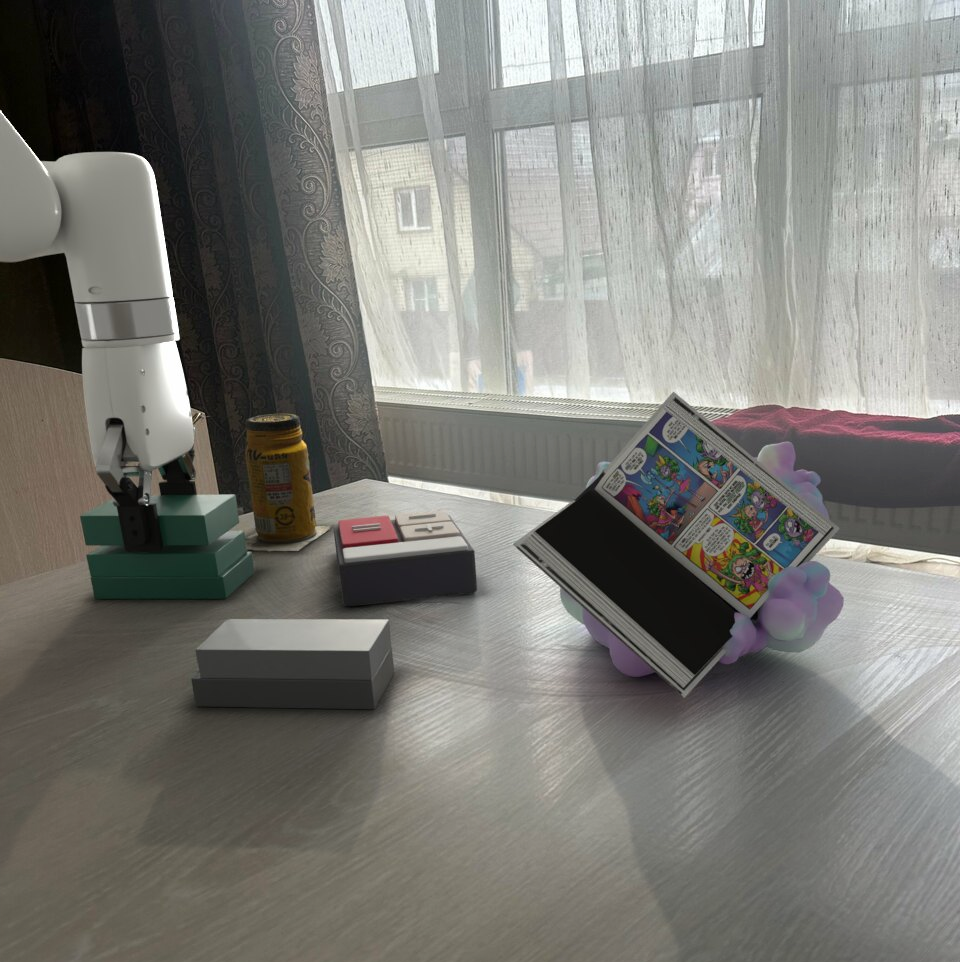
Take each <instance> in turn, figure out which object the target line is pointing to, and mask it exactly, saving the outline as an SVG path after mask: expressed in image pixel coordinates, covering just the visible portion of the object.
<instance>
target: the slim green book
mask: <svg viewBox="0 0 960 962" xmlns="http://www.w3.org/2000/svg"><path fill="white" fill-rule="evenodd" d="M150 503H156V507H157V513H158V519H159V525H160V531H161V536H162V542H163V546H208V545H210V544H211V543H213V542H214V541H215V540H217V539H218V538H219V537H221V536H222V535H223V534H225V533H226V532H227V531H231V530H232V529H233V528H234V527H236V526H237V525H238V524H240V517H239V510H238V503H237V495H236V494H232V493H231V494H197V495H161V494H151V497H150ZM79 519H80V524H81V529H82V534H83V539H84V544H85V546H87V547H89V546H98V547H100V546H124V543H123V538H122V532H121V527H120V522H119V516H118V511H117V507H116V506H114V505H113V503H112V499H110V500H108V501H106V502H104V503H102V504H100V505H98V506H97V507H94V508H93V509H90V510H88V511H86V512H85V513H83V514H81V515H79Z"/></svg>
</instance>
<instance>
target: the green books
mask: <svg viewBox="0 0 960 962" xmlns="http://www.w3.org/2000/svg"><path fill="white" fill-rule="evenodd" d="M245 533H246V532H245V530H229V531H227V532H226V533H225V534H223V535H222V536H221V537H219V538H218V539H217V540H215V541H214V542H213V543H211V544H210V545H208V546H163V549H162V550H160V551H159V552H128V551H126V550H125V548H124V546H98V547H96V548H95V549H93V550H91V551H89V552H88V553H86V554H85V555H86V562H87V565H88V570H89V575H90V582H91V587H92V592H93V596H94V599H95V600H171V599H172V600H191V599H192V600H208V599H209V600H219V599H220V600H224V599H227V598H228V597H230V596H231V595H232V594H233V593H234V592H235V591H236V590H238V588H240V587H241V586H242V585H244V583H245V582H246V581H247V580H248V579H249V578H250V577H252V576H253V575H254V574H255V573H256V571H255V563H254V558H253V552H252V551H248V550H247V547H246V540H245V537H246V534H245Z"/></svg>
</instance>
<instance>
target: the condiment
mask: <svg viewBox="0 0 960 962" xmlns="http://www.w3.org/2000/svg"><path fill="white" fill-rule="evenodd" d="M244 426H245V430H246V439H245V440H246V442H247V446H246V448H245V451H244V454H245V462H246V463H245V464H246V469H247V470H246V471H247V476H248V484H249V491H250V498H251V506H252V512H253V521H254V529H255V533H252V534H251V535H249V536H245V540H246V547H247V551H249V550H252V551H267V552H268V553H270V552H275V551H278V552H279V551H280V552H288V551H289V552H299V551H300V550H301V549H302V548H305V547H306V545H308V544H310V543H311V542H313V541H314V540H316V539H318V538H319V537H321V536H322V535H323V534H324V533H326V532H327V531H329V530H330V529H332V525H317V521H316V510H315V502H314V494H313V486H312V485H313V483H312V477H311V469H310V468H311V467H310V460H309V453H308V452H309V451H308V447H307V443H306V442H305V441H304V440H303V439H302V438H303V430H302V429H301V420H300V416H298V415H296V414H293V413H270V414H262V415H257V416H256V415H255V416H253V417H249V418H247V419H246V420H245V424H244Z"/></svg>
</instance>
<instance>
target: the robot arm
mask: <svg viewBox="0 0 960 962" xmlns="http://www.w3.org/2000/svg"><path fill="white" fill-rule="evenodd" d="M25 141H26V140H24V139H23V137H22V136H21V135H20V134H19V132H18V131H17V130H16V129H15V127H14V126H13V125H12V123H11V122H10V121H9V119H8V118H6V116H5V115H4V113H3V112H2V110H0V263H18V262H22V261H27V260H30V259H35V258H39V257H45V256H51V255H57V254H64V256H65V258H66V264H67V269H68V270H67V271H68V274H69V280H70V285H71V290H72V296H73V301H74V308H75V313H76V317H77V324H78V329H79V334H80V338H81V340H80V341H81V345H82V348H81V374H82V375H81V376H82V390H83V401H84V408H85V416H86V423H87V425H86V426H87V431H88V438H89V445H90V451H91V456H92V461H93V464H94V467H95V473H96V475H97V476H98V478H99V479H100V480H101V482H102V483H103V484H104V487H105V489H106V491H107V493H109V495H110V496H111V500H112V503H113V505H114V506H116V507H117V511H118V516H119V522H120V527H121V532H122V538H123V543H124V548H125V550H126V551H128V552H159V551H160V550H162V549H163V542H162V536H161V531H160V525H159V519H158V513H157V507H156V503H150V497H151V495H152V482H153V481H152V480H153V471H154V470H157V469H158V472H159V474H160V476H161V479H162V480H163V481H162V480H161V481H159V482H158V487H159V495H198V492H197V486H196V485H197V484H196V477H197V472H196V467H195V466H194V460H195V456H196V454H195V453H196V452H195V451H196V450H195V449H194V447H195V440H196V428H195V426H194V423H193V416H192V409H191V405H190V399H189V393H188V388H187V384H186V383H187V382H186V379H185V374H184V369H183V366H182V362H181V358H180V353H179V350H178V347H177V342H176V341H180V333H179V325H178V318H177V312H176V307H175V300H174V297H173V288H172V281H171V280H172V279H171V274H170V267H169V260H168V254H167V248H166V241H165V235H164V234H165V233H164V227H163V221H162V216H161V215H162V214H161V208H160V201H159V195H158V189H157V183H156V177H155V173H154V170H153V168H152V166H151V165H150V163H149V162H148V161H147V159H145V158H144V157H143V156H141V155H138V154H135V153H131V152H121V151H120V152H119V151H91V152H89V151H88V152H78V153H72V154H71V153H70V154H67V155H63V156H61V157H58V159H56V160H55V161H47V160H46V161H45V160H40V159H39V158H38V156H37V155H36V154H35V153H34V151H33V150H32V149H31V147H29V145H28V144H27V143H26V142H25ZM133 462H134V463H137V465H129V464H130V463H133ZM130 477H138V480H137V482H138V483H137V485H136V484H135V482H134V481H133V480H132V479H131V478H130Z"/></svg>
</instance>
